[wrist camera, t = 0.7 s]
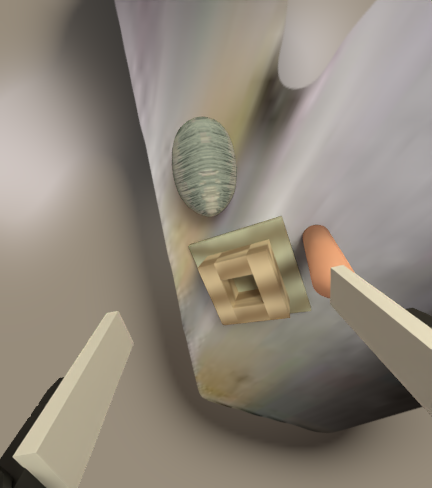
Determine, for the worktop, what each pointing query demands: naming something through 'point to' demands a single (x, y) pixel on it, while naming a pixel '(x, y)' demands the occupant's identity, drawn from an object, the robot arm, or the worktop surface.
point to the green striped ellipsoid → (204, 166)
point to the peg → (322, 257)
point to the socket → (251, 273)
